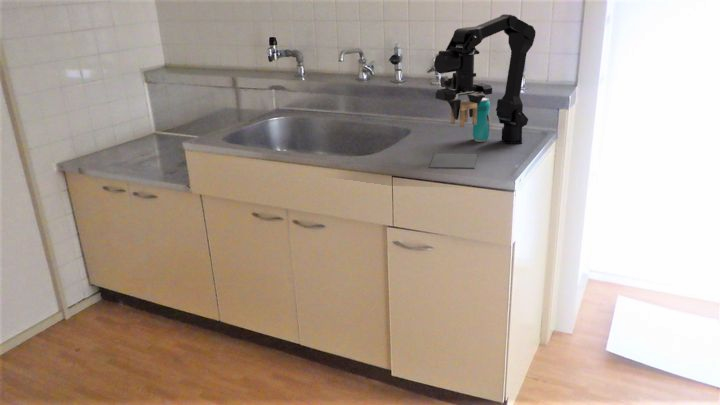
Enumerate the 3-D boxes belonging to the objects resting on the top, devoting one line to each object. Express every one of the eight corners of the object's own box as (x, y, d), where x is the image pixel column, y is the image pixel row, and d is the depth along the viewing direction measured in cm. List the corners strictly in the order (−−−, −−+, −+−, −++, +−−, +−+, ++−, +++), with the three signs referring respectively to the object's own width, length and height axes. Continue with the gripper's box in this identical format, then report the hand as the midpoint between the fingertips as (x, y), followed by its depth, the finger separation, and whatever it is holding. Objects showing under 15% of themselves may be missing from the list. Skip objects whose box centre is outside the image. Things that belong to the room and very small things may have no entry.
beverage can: (489, 142, 212) (489, 100, 206) (472, 142, 213) (472, 100, 208) (489, 138, 217) (489, 96, 212) (473, 138, 218) (473, 97, 213)
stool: (465, 121, 200) (466, 100, 198) (476, 124, 195) (477, 103, 193) (450, 123, 198) (451, 102, 195) (461, 127, 193) (462, 105, 190)
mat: (477, 155, 199) (477, 154, 199) (474, 168, 186) (474, 167, 186) (435, 154, 203) (435, 153, 202) (429, 167, 190) (429, 166, 190)
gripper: (472, 64, 201) (471, 110, 206) (425, 70, 193) (426, 117, 199) (494, 67, 191) (492, 115, 197) (445, 74, 184) (445, 124, 189)
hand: (463, 118), depth 196 cm, fingers closed on stool, 5 cm apart
